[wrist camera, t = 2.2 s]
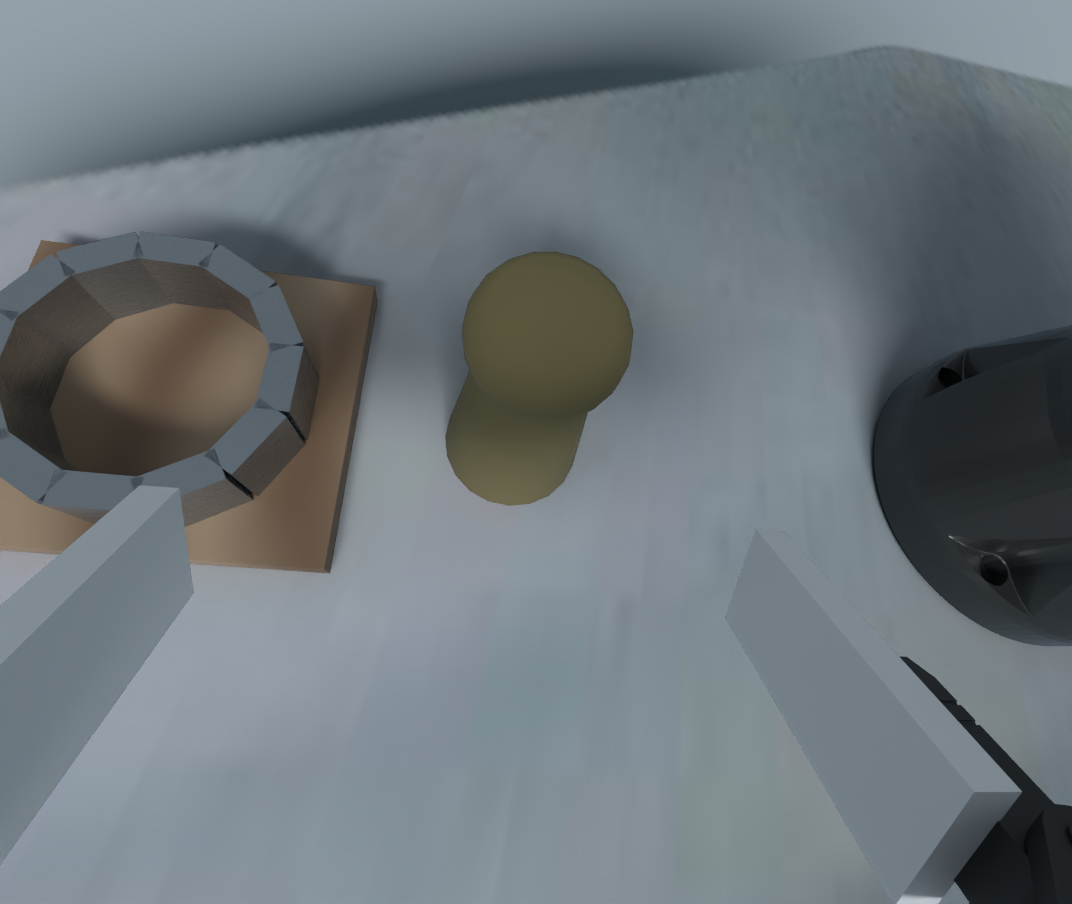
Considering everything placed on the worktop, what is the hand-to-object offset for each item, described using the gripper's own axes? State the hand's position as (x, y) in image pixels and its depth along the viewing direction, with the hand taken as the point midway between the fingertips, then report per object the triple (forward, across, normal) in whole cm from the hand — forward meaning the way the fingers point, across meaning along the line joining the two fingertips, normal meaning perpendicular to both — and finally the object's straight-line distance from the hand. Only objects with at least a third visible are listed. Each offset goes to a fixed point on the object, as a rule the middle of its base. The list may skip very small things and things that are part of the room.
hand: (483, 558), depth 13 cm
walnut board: (+13, -12, -2) cm, 18 cm away
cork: (+13, +2, -3) cm, 13 cm away
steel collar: (+12, -12, -1) cm, 17 cm away
